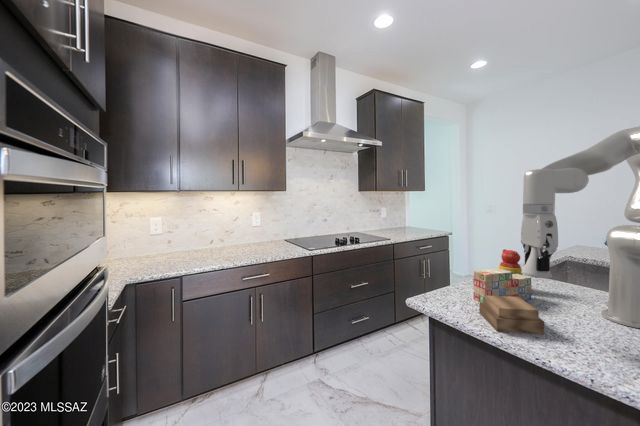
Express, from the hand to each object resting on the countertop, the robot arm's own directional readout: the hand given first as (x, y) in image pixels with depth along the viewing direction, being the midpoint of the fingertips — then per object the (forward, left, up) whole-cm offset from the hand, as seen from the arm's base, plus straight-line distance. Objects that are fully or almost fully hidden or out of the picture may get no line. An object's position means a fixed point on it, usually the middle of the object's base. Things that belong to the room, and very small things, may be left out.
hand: (536, 267), depth 81 cm
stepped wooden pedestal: (+6, -4, -20) cm, 21 cm away
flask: (0, 0, -3) cm, 3 cm away
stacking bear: (-11, -39, -20) cm, 45 cm away
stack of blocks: (-2, -25, -20) cm, 32 cm away
